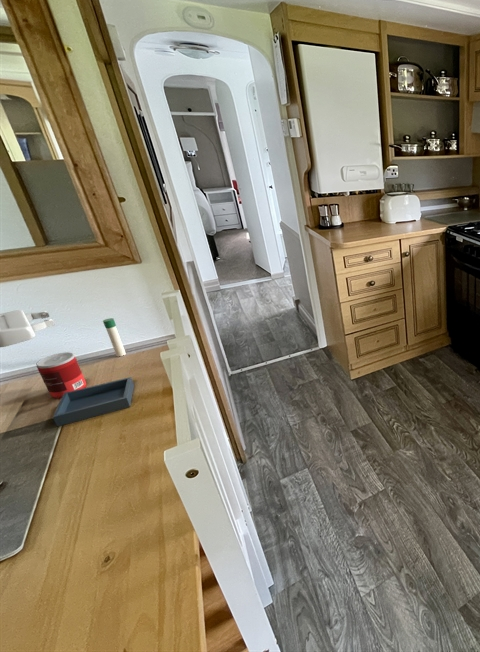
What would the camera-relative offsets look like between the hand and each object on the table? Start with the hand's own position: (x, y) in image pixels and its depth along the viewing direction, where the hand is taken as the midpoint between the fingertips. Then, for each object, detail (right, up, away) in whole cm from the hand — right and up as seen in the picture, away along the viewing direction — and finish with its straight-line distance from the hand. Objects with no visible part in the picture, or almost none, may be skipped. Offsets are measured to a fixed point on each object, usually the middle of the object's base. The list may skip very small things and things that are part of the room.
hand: (51, 317), depth 116 cm
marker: (+7, -14, +16) cm, 22 cm away
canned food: (+10, -22, -4) cm, 24 cm away
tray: (+24, -24, -9) cm, 35 cm away
